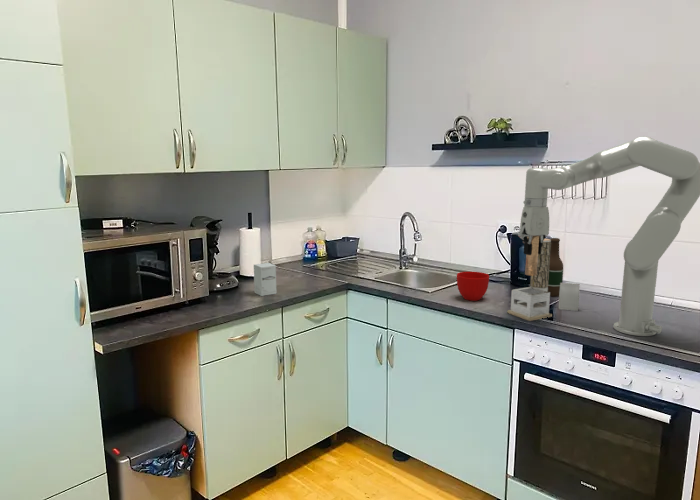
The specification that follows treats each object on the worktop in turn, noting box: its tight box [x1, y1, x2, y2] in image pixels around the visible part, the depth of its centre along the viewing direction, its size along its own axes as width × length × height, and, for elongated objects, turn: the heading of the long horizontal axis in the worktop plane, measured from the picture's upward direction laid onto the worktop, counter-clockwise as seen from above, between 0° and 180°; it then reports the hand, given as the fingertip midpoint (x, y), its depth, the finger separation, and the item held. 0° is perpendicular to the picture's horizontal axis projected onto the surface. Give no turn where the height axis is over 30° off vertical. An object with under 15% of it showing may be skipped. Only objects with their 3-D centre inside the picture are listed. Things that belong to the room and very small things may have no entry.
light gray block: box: [558, 282, 581, 312], centre depth 198 cm, size 4×7×10 cm, turn 71°
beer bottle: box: [548, 237, 564, 298], centre depth 217 cm, size 8×8×24 cm
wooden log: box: [529, 237, 552, 292], centre depth 208 cm, size 7×7×25 cm
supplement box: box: [253, 262, 278, 297], centre depth 222 cm, size 7×7×13 cm
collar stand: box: [506, 286, 553, 322], centre depth 190 cm, size 11×11×9 cm
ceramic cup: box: [456, 271, 490, 302], centre depth 214 cm, size 13×17×10 cm
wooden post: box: [524, 234, 539, 277], centre depth 187 cm, size 4×4×18 cm
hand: (532, 253), depth 187 cm, fingers closed on wooden post, 4 cm apart
